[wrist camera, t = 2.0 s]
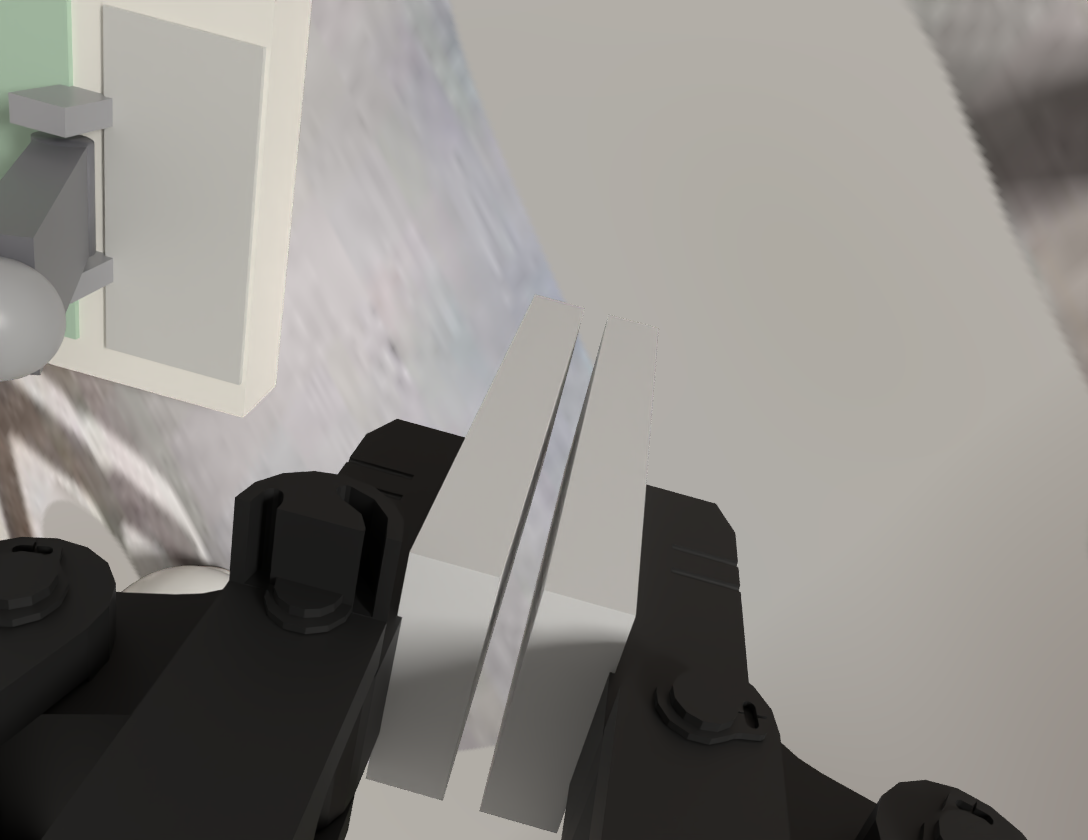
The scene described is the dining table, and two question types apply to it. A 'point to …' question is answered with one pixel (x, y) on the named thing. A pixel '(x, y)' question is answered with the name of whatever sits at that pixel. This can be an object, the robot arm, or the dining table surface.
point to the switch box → (170, 179)
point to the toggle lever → (43, 246)
